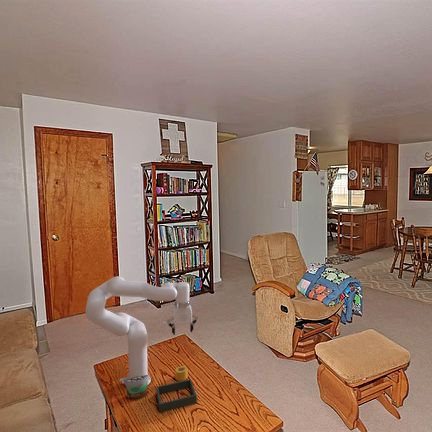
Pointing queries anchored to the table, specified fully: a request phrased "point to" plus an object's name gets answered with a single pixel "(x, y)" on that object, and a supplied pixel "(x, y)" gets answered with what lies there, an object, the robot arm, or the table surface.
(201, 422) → the table surface
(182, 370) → the tape roll
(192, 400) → the dark green rectangular frame
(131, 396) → the food container
